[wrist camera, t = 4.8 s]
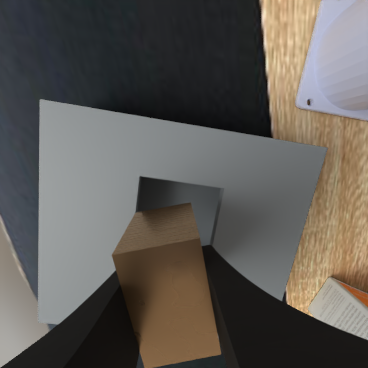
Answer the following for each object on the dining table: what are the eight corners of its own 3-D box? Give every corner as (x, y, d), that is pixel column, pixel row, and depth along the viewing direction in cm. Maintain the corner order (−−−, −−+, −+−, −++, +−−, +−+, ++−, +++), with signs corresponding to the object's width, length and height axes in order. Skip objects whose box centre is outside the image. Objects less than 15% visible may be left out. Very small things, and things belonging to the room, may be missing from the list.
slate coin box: (282, 145, 16) (328, 147, 11) (245, 291, 19) (269, 342, 14) (83, 112, 15) (39, 99, 10) (75, 273, 18) (37, 322, 13)
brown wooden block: (190, 202, 10) (200, 238, 7) (205, 282, 12) (221, 354, 8) (135, 212, 10) (111, 255, 7) (155, 292, 12) (145, 368, 8)
